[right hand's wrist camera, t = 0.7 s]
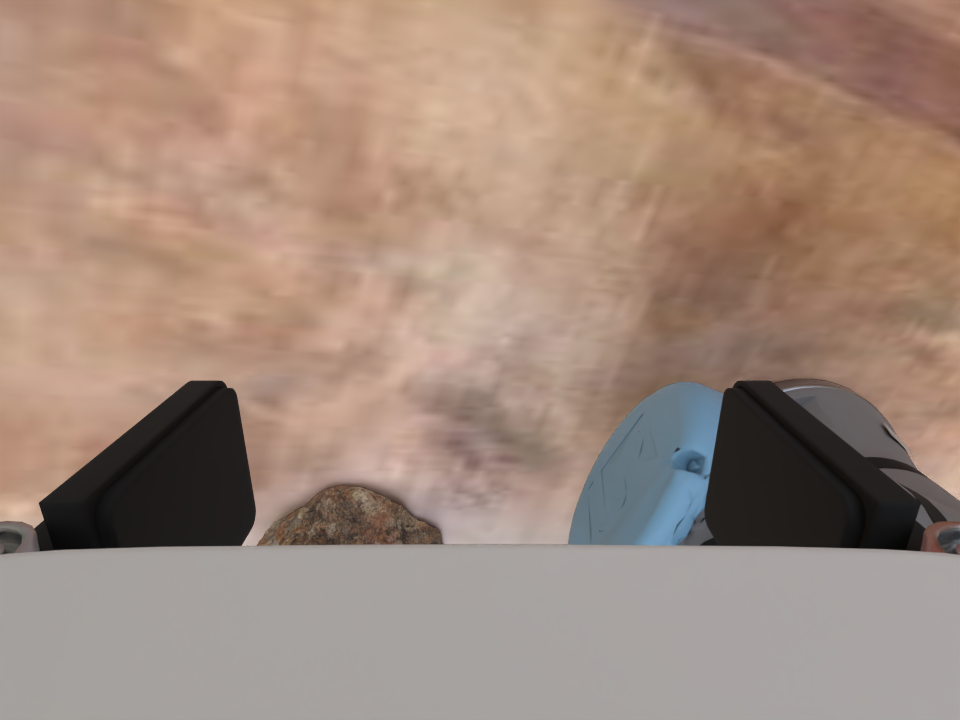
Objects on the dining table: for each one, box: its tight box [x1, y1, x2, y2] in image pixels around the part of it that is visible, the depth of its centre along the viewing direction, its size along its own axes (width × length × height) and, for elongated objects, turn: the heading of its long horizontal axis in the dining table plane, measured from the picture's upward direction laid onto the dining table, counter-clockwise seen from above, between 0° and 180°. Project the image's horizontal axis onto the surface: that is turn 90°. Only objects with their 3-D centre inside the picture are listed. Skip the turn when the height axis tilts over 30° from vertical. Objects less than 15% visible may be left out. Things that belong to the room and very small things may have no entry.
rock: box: [257, 486, 442, 546], centre depth 45 cm, size 14×9×10 cm
